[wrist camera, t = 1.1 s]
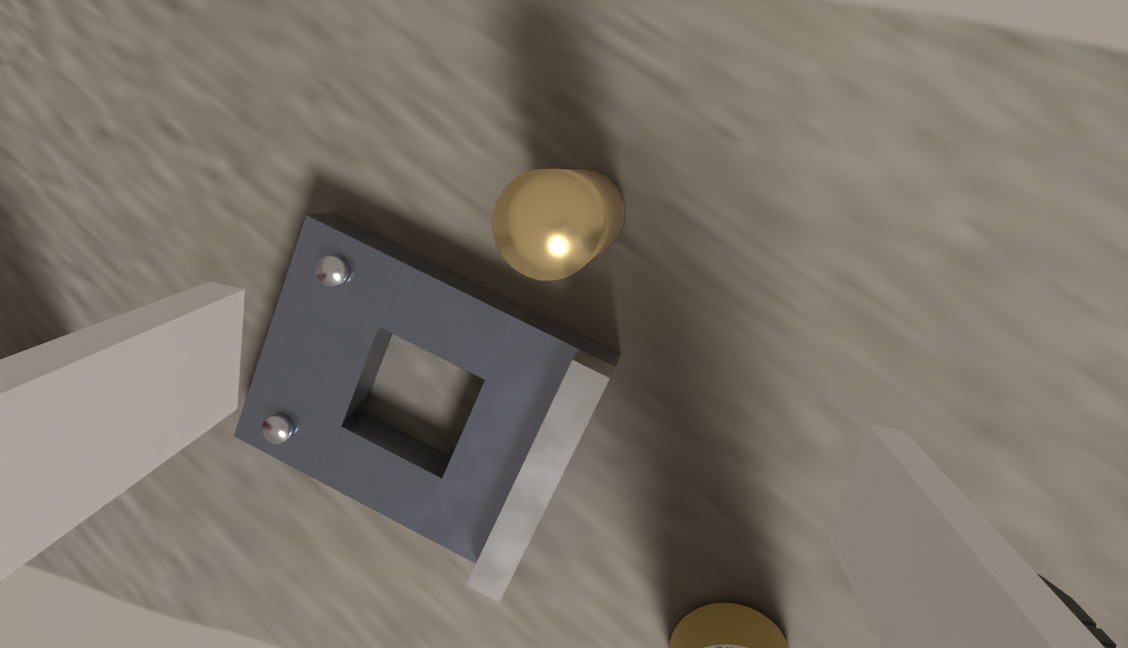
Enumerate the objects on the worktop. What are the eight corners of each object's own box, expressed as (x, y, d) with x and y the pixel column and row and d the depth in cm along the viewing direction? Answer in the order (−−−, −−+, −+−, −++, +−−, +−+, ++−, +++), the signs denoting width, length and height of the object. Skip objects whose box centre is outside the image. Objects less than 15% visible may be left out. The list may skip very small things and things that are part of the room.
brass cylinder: (639, 191, 35) (619, 197, 26) (603, 268, 36) (572, 298, 28) (562, 155, 35) (517, 150, 27) (529, 233, 37) (476, 251, 28)
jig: (620, 354, 37) (610, 378, 33) (520, 557, 41) (499, 602, 37) (330, 212, 39) (284, 217, 34) (260, 421, 42) (210, 449, 38)
